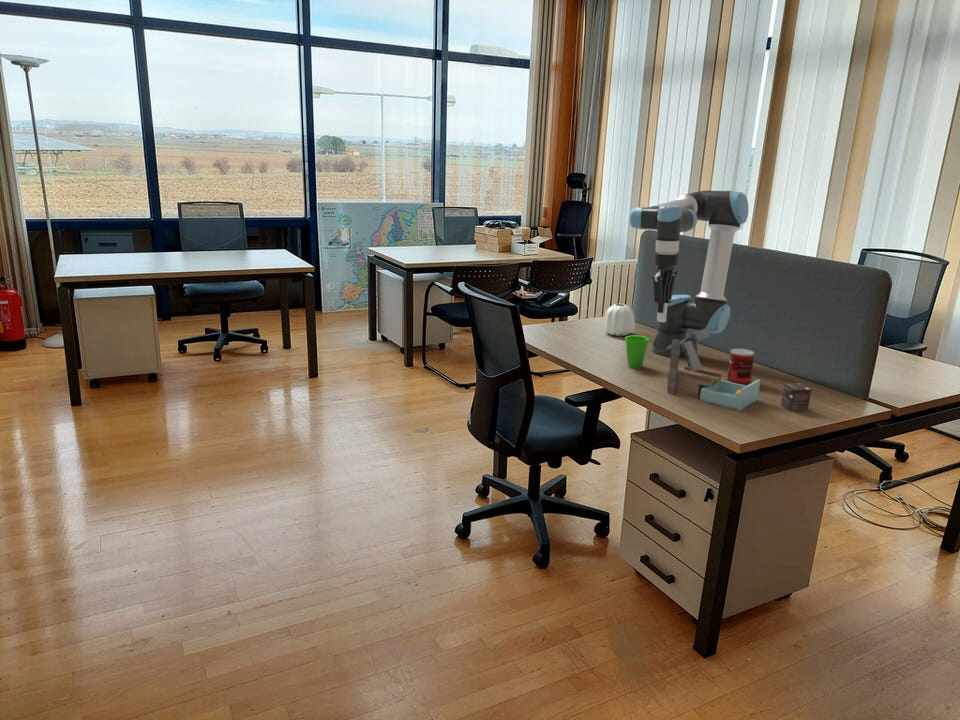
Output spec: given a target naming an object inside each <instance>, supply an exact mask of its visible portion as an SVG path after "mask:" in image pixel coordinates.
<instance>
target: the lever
mask: <svg viewBox="0 0 960 720" xmlns="http://www.w3.org/2000/svg"><path fill="white" fill-rule="evenodd" d="M694 332H695V336H691V335H690V336H691V337H690V336H688V338H686V339H683V340H681V342H680V345H682V347H683V350H684V352H685V354H686V355H685V357H686V359H687V363H688V362H689V364H690V366H691V369H692V371H696V370H698V369H702V368H703V366H702V364H701V361H700V359H699V357H698V353H697V354H696V352H695V349H694V347H693V345H692V342H691V341H692V340H694V339H696V338H697V340H698V342H700V341H701V340H704V339H707V338H709V337H711V335H710V333H708V331H707V328H705V329H702V330H700V331H694ZM670 348H672V345H669V346H666V347H663V348H661V349H658V350H656V351H654V352H653V354H657V352H660V351H665V350H667V349H670Z"/></svg>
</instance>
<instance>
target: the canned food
mask: <svg viewBox="0 0 960 720" xmlns="http://www.w3.org/2000/svg"><path fill="white" fill-rule="evenodd" d="M729 352H730V353H729V360H728V370H727V380H728V382H732V383H737V384H741V385H749V384H751V380H752V374H753V367H754V358H755V352H754V351H753V350H750V349H746V348H732V349H730V351H729Z"/></svg>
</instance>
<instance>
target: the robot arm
mask: <svg viewBox="0 0 960 720" xmlns="http://www.w3.org/2000/svg"><path fill="white" fill-rule="evenodd" d="M748 216H749V201H748V198H747V196H746V194H745V193H744V192H741V191H734V190H707V189H706V190H698V191H695V192H691V193H686V194H683V195H680V196H679V197H678V198H676V199H675V200H671V201H667V202H664V203H660V204H656V205H653V206H648V207H646V206H645V207H643V206H639V207H638V206H637V207H634V208H633V209H632V210H631V212H630V215H629V224H630V226H631V227H632V228H633V229H638V230H649V231H650V230H651V231H653V230H654V231H656V237H655V239H656V240H655V242H654V243H655V252H656V253H655V254H654V262H653V263H654V264H655V265H656V266H657V269H656V274H655V275H654V274H653V275H652V281H653V297H654V299H653V300H654V303H657V314H656V322H658V324H657V332H656V335H655V338H654V339H653V343H652V346H651V351H652V352H653V353H654V351H656V350H658V349H661V348H663V347H666V346H669V345H672V340H673V339H675V340H680V341H681V340H683V339H686V338H688V337H689V336H688V331H689V330H691V331H694V332H697V331H700V330H702V329H705V328H707V331H708V333H709V334H715V335H716V334H719V333H721V332H723V330H725V328H726V327H727V325H728V322H729V320H730V316H731V307H730V306H729V305H728V304H727V302H728V300H727V298H726V297H725V295H724V294H725V289H726V282H727V277H728V272H729V265H730V262H731V261H730V260H731V255H732V250H733V244H734V238H735V233H736V232H737V231H739V230H740V228H741V225H743V224H745V223H746V222H747V219H748ZM698 221H701V222H702V221H703V222H708V224H707V226H708V228H709V229H710V236H709V241H708V247H707V251H706V252H707V254H706V258H705V264H704V271H703V276H702V282H701V287H700V291H699V293H698V294H696V295H695V297H694V300H693V299H692V296H691V295H689V294H673V293H674V286H675V282H676V278H677V275H678V271H675V270H674V269H675V268H674V266H677V265H678V261H679V254H678V253H679V250H680V235H681V233H687V232H689V231H691V230H693V229H694V228H695V227H696V225H697V223H698ZM656 354H657V355H660V356H661V355H662V356H667V357H671V348H670V349H667V350H665V351H660V352H657V353H656ZM679 357H686V354H685V352H684V350H683V347H682V345H680V353H679Z"/></svg>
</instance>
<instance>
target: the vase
mask: <svg viewBox="0 0 960 720" xmlns="http://www.w3.org/2000/svg"><path fill="white" fill-rule="evenodd" d="M635 325H636V321H635V313H634V310H633V309H632V308H631V307H630V306H629V305H627V304H624V303H615V304H612V305H610V307H608V308H607V309H606V310H605V313H604V317H603V321H602V328H603V330H604V331H605V333H607V334H608V335H611V336H618V337H620V336H621V337H624V336H630V335H631V334H632V333H633V332H634V330H635Z"/></svg>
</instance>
